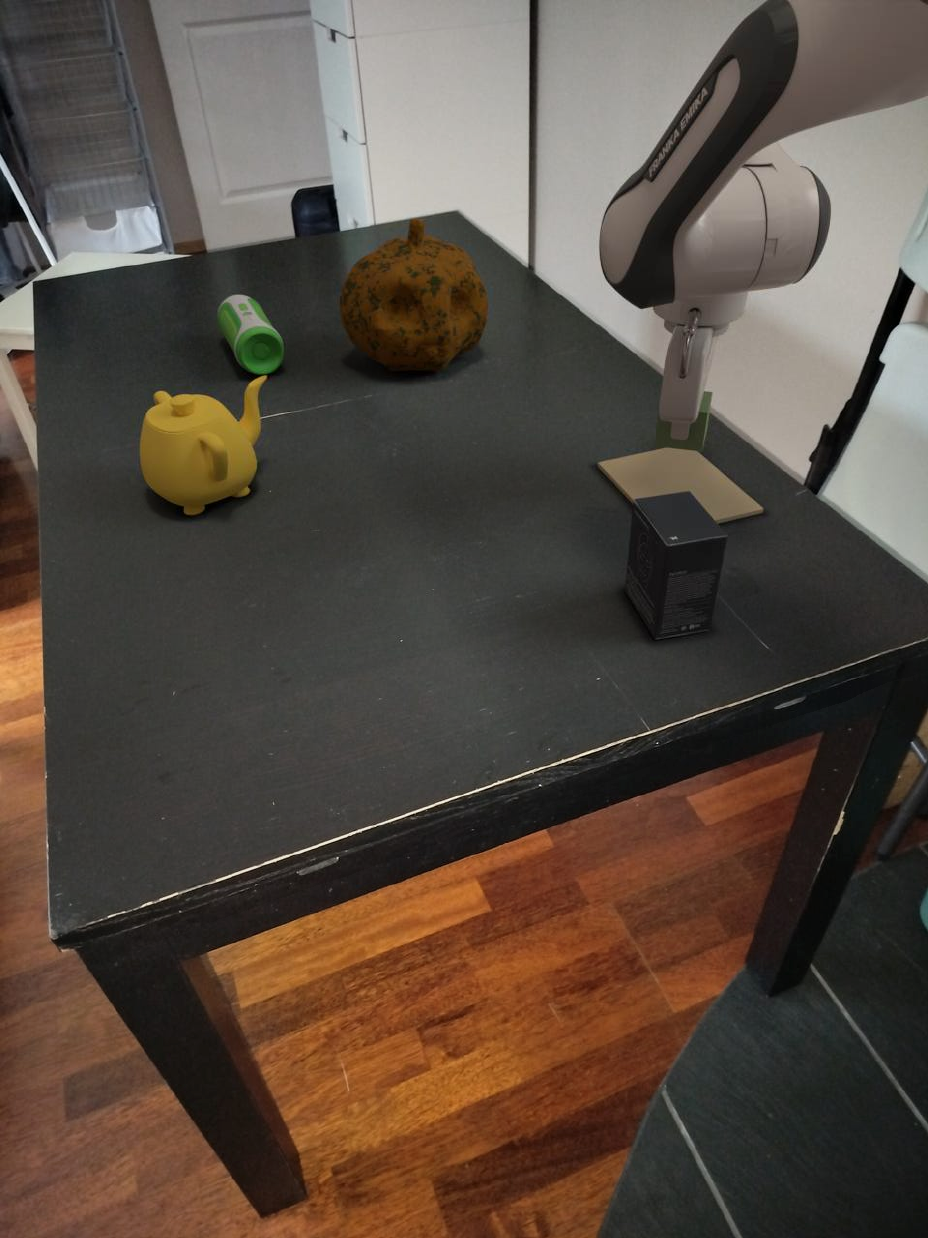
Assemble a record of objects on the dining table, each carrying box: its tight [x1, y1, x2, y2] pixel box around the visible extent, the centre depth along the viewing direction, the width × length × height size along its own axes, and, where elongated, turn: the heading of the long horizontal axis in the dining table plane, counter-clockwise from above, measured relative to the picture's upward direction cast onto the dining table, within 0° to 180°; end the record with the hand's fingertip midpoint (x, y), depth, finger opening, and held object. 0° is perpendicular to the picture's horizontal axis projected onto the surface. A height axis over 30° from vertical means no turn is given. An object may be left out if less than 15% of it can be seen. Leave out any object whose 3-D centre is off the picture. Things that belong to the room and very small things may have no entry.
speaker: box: [216, 294, 285, 376], centre depth 130 cm, size 18×7×8 cm, turn 23°
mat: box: [597, 447, 764, 525], centre depth 97 cm, size 16×12×1 cm
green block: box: [654, 390, 714, 452], centre depth 92 cm, size 5×5×4 cm
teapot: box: [139, 375, 268, 516], centre depth 98 cm, size 14×14×12 cm
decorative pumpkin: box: [338, 218, 489, 372], centre depth 123 cm, size 20×21×20 cm
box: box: [624, 491, 729, 640], centre depth 78 cm, size 8×6×11 cm
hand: (683, 422), depth 92 cm, fingers closed on green block, 5 cm apart
